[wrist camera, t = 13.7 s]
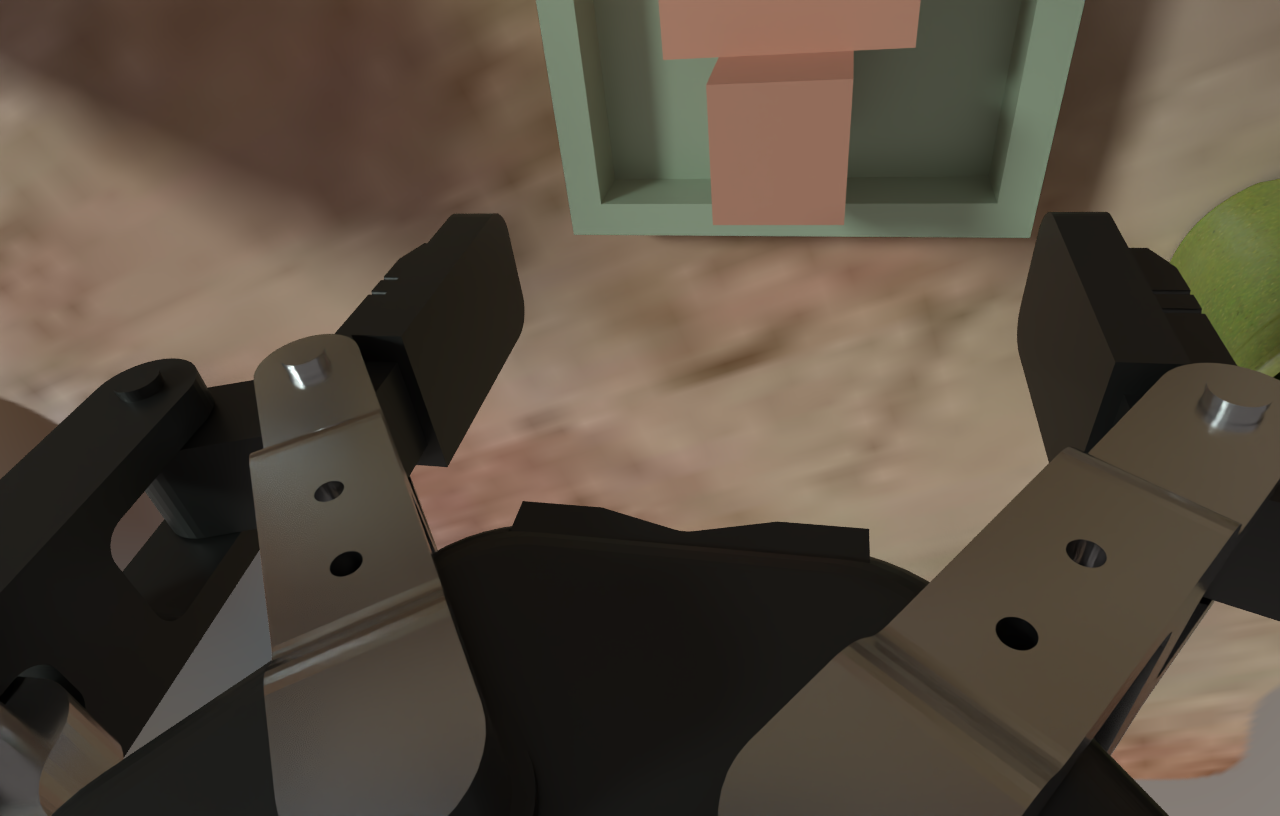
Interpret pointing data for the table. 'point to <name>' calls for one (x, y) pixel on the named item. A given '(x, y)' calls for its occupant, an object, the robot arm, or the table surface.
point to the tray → (879, 132)
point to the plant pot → (1239, 274)
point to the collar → (781, 97)
